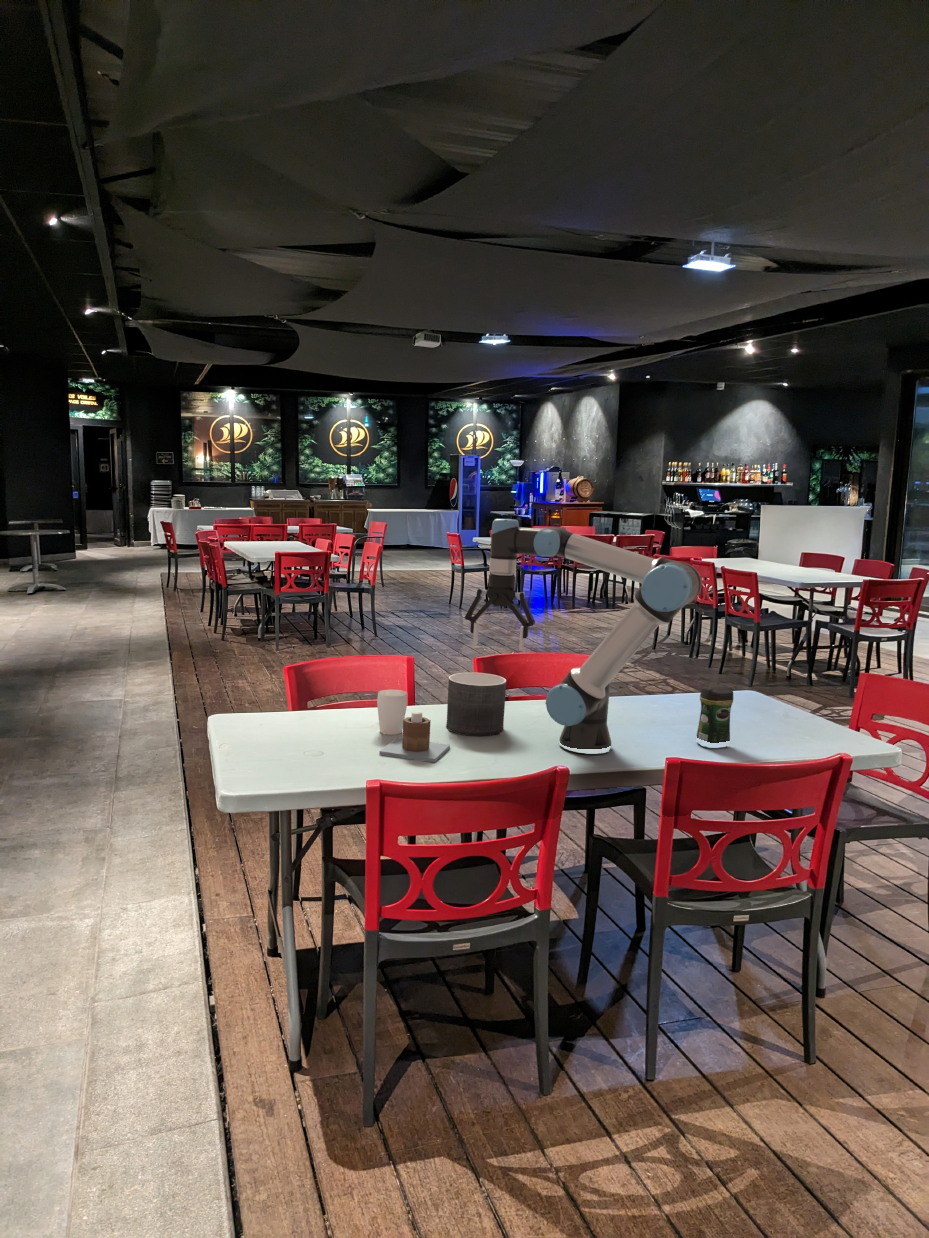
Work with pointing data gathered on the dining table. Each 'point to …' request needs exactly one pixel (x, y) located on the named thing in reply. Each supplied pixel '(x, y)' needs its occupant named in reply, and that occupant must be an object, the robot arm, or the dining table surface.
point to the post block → (430, 755)
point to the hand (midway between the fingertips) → (498, 647)
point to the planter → (476, 704)
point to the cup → (391, 710)
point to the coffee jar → (715, 714)
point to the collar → (416, 735)
